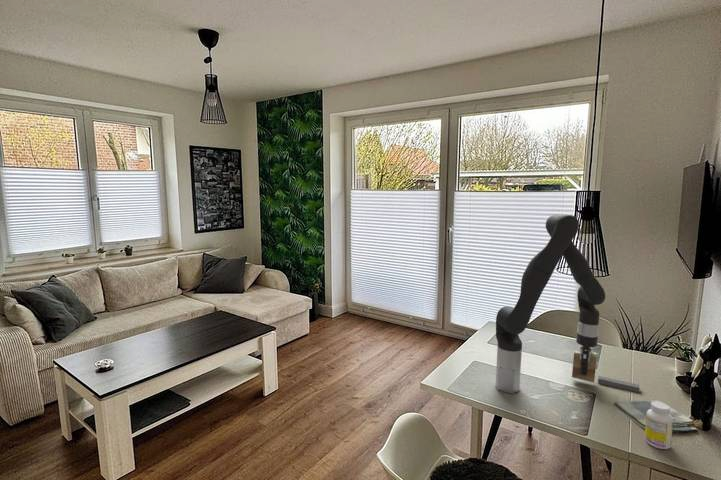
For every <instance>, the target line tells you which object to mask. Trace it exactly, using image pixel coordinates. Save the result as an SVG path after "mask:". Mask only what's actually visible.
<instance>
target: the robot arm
mask: <svg viewBox="0 0 721 480" xmlns="http://www.w3.org/2000/svg"><path fill="white" fill-rule="evenodd" d="M579 227H580V222H579V219H578V218H577V217H576V216H574V215H571V214H564V213H562V214H559V213H557V214H552V215H549V216H548V218H547V219H546V221H545V230H546V231H547V233H548V234H549V236H550V238H549V241H548V242H547V244H546V245H545V246H544V248H542V250H540V251H539V252H538V253H537V254H535V255H534V256H533V257H532V259H531V260H530V261H529V263H528V265H527V266H526V268H525V270H524V272H523V274H522V277H521V283H520V293H519V297H518V299H517V302H516V304H515V305H514V307H512V306H508V305H506V306H502V307H501V308H500V309H499V310H498V311H497V313H496V317H495V318H496V319H495V339H496V342H497V348H496V351H497V352H496V368H495V369H496V372H495V387H496V389H497V390H498V391H501V392H504V393H508V394H512V395H513V394H514V393H517V392H519V391H520V389H521V372H522V371H521V369H522V355H523V354H522V353H523V352H522V351H523V343H522V340H521V338H520V336H519V334H521V333H523V332H524V331H525V329H526V328H527V327H528V324H529V322H530V321H531V318H532V315H533V312H534V310H535V308H536V306H537V303H538V301H539V299H540V297H541V296H542V293H543V291H544V290H545V287H546V286H547V284H548V282H549V281H550V279H551V277H552V275H553V272H554V271H555V269H556V268H557V265H558V264H559V262H560V260H561V258H562V257H563V258H564V260H565V262H566V265H567V266H568V269H569V271H570V273H571V275H572V277H573V279H574V282H576V283H577V284H578V285H579V288H578V290H577V296H576V297H577V303H578V309H579V313H578V314H579V316H578V323H577V328H576V329H577V331H576V339H575V341H576V343H577V344H578V345H580V353H581V354H580V360H581V364H580V365H581V372H580V374H581V375H585V376H586V375H587V367H588V362H589V361H590V355H591V352H593V351H592V350H593V349H592V348H596V347H597V346H598V342H599V341H598V340H599V332H600V329H599V325H600V324H599V323H600V311H599V310H598V309H597V308H596V306H597V305H602V304H603V303H604V302H605V300H606V292H605V290H604V288H603V286H602V285H601V283H600V282H599V280H598V279H597V278H596V277H595V276H594V273H593V271H592V269H591V266H590V263H589V262H588V260H587V259H586V257H585V256H584V255H583V253H582V251H580V250H579V248H577V246H576V244H575V243H574V242H573V240H574V238H575V237H576V235H577V234H578V232H579V229H580V228H579ZM582 362H586V364H584V363H582Z"/></svg>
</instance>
